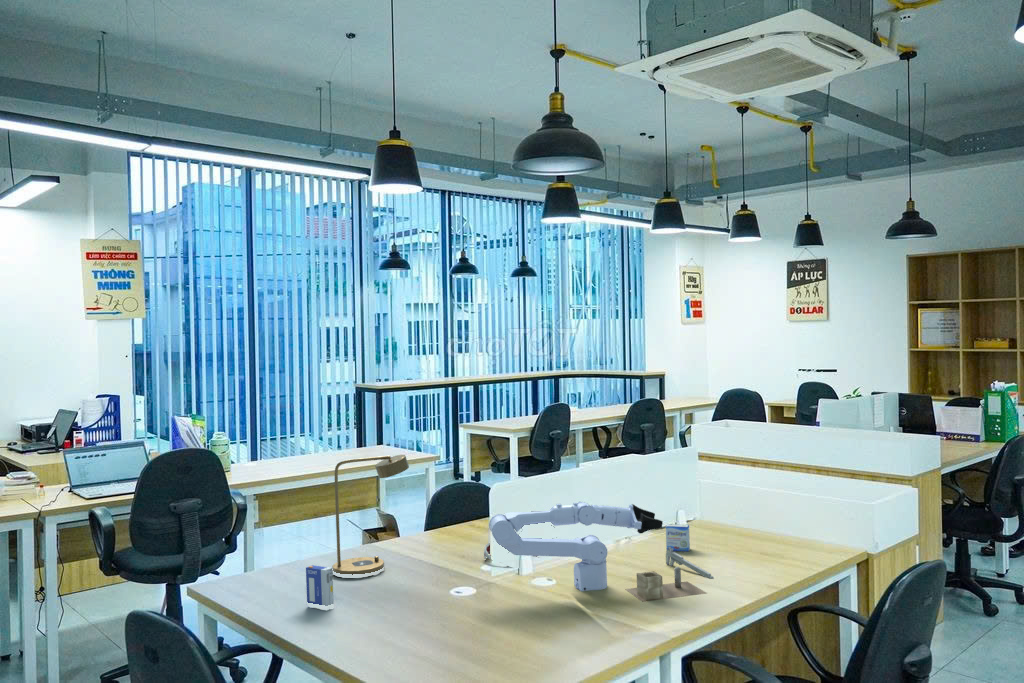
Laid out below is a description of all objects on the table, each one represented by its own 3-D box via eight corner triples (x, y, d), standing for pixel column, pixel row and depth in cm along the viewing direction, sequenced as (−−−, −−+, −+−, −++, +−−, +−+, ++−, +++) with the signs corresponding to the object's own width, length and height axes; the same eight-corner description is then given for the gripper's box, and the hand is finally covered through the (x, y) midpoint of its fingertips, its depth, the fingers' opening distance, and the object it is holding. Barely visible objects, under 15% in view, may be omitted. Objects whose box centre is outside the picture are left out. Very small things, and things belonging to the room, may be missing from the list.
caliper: (665, 565, 254) (665, 546, 254) (668, 564, 255) (667, 545, 255) (711, 579, 237) (710, 559, 237) (714, 579, 237) (713, 558, 237)
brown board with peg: (642, 607, 213) (641, 580, 213) (625, 594, 225) (624, 568, 225) (707, 598, 219) (706, 572, 219) (687, 586, 230) (686, 561, 230)
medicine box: (666, 550, 271) (665, 526, 271) (667, 547, 275) (666, 523, 276) (689, 551, 269) (688, 526, 269) (690, 548, 273) (689, 524, 273)
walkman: (307, 607, 224) (305, 566, 224) (313, 605, 226) (312, 563, 226) (327, 611, 220) (325, 569, 220) (334, 608, 222) (332, 566, 222)
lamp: (418, 570, 259) (414, 456, 259) (337, 582, 248) (333, 463, 249) (405, 558, 275) (401, 451, 275) (328, 569, 264) (324, 458, 265)
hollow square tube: (645, 600, 215) (644, 578, 215) (637, 594, 220) (636, 573, 220) (663, 597, 216) (662, 576, 216) (654, 592, 221) (653, 571, 221)
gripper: (622, 510, 223) (667, 514, 224) (610, 496, 237) (652, 500, 239) (618, 534, 223) (663, 538, 225) (607, 518, 238) (649, 522, 239)
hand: (658, 520), depth 232 cm, fingers open, 7 cm apart
